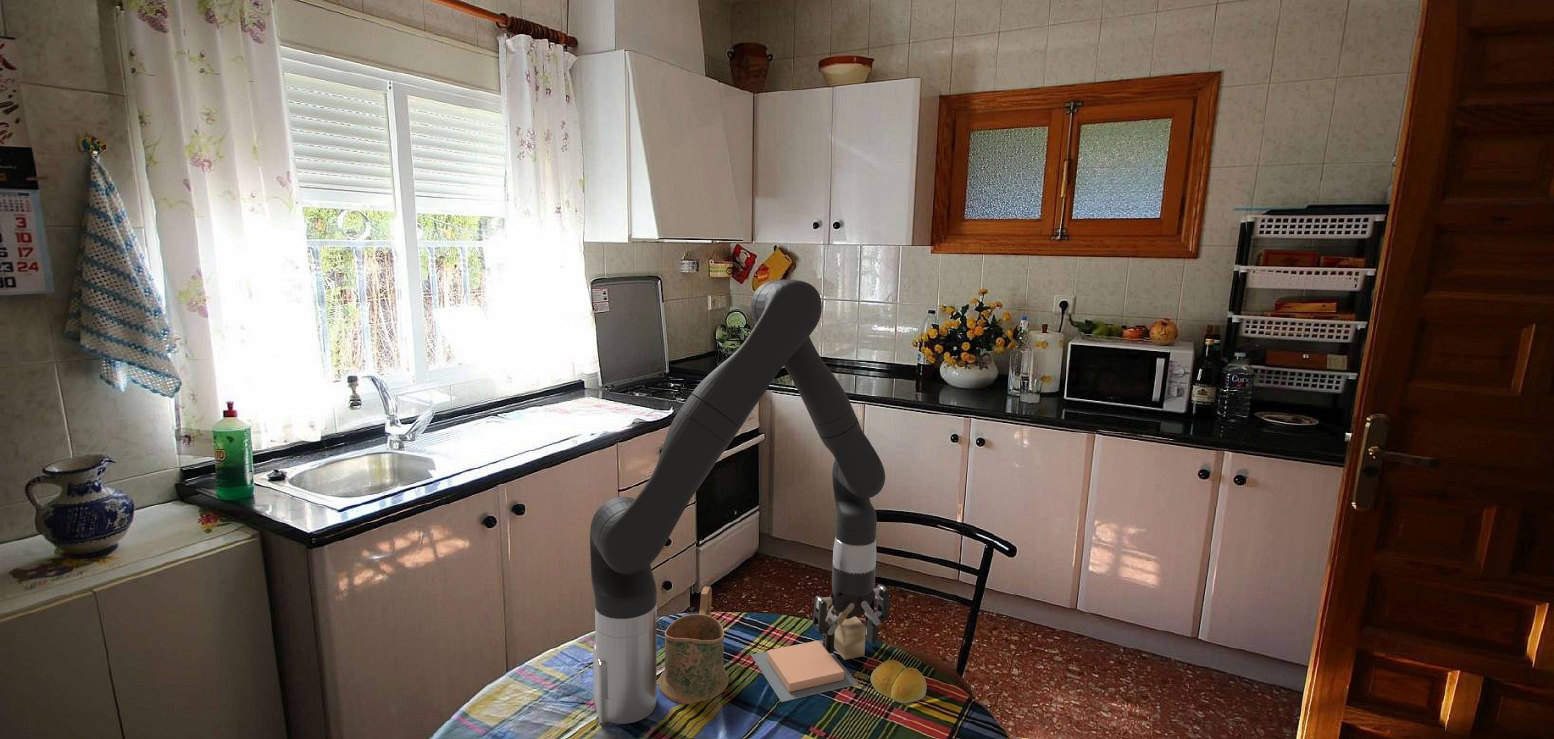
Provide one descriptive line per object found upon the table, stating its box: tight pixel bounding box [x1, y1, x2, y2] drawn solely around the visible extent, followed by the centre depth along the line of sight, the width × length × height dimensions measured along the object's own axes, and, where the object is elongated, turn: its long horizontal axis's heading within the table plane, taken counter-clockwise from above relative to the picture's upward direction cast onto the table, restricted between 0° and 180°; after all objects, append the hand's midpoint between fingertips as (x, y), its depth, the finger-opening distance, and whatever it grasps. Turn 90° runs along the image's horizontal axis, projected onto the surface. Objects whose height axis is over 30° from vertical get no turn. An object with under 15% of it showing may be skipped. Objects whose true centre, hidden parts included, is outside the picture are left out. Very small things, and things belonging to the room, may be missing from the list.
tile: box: [766, 640, 844, 692], centre depth 122 cm, size 10×2×10 cm
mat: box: [750, 639, 859, 703], centre depth 122 cm, size 14×14×1 cm
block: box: [834, 617, 867, 661], centre depth 127 cm, size 4×4×6 cm
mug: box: [658, 586, 730, 705], centre depth 120 cm, size 12×18×12 cm, turn 174°
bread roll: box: [870, 659, 928, 704], centre depth 118 cm, size 8×9×4 cm
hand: (850, 646), depth 128 cm, fingers open, 8 cm apart
